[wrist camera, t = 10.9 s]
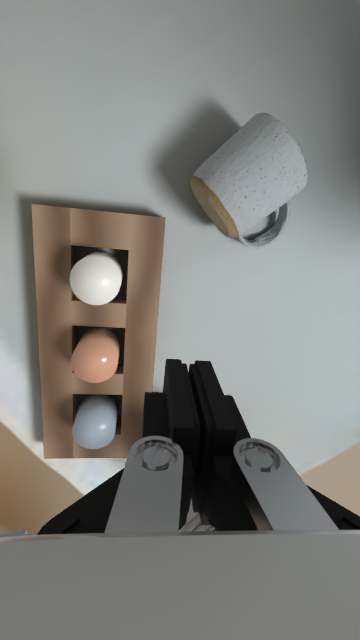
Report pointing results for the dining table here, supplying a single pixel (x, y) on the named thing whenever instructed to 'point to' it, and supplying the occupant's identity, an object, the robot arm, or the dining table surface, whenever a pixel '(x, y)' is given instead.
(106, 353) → the salmon domed cylinder
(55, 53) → the dining table surface
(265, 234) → the ceramic mug
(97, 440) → the blue egg
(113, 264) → the white egg
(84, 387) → the walnut board
